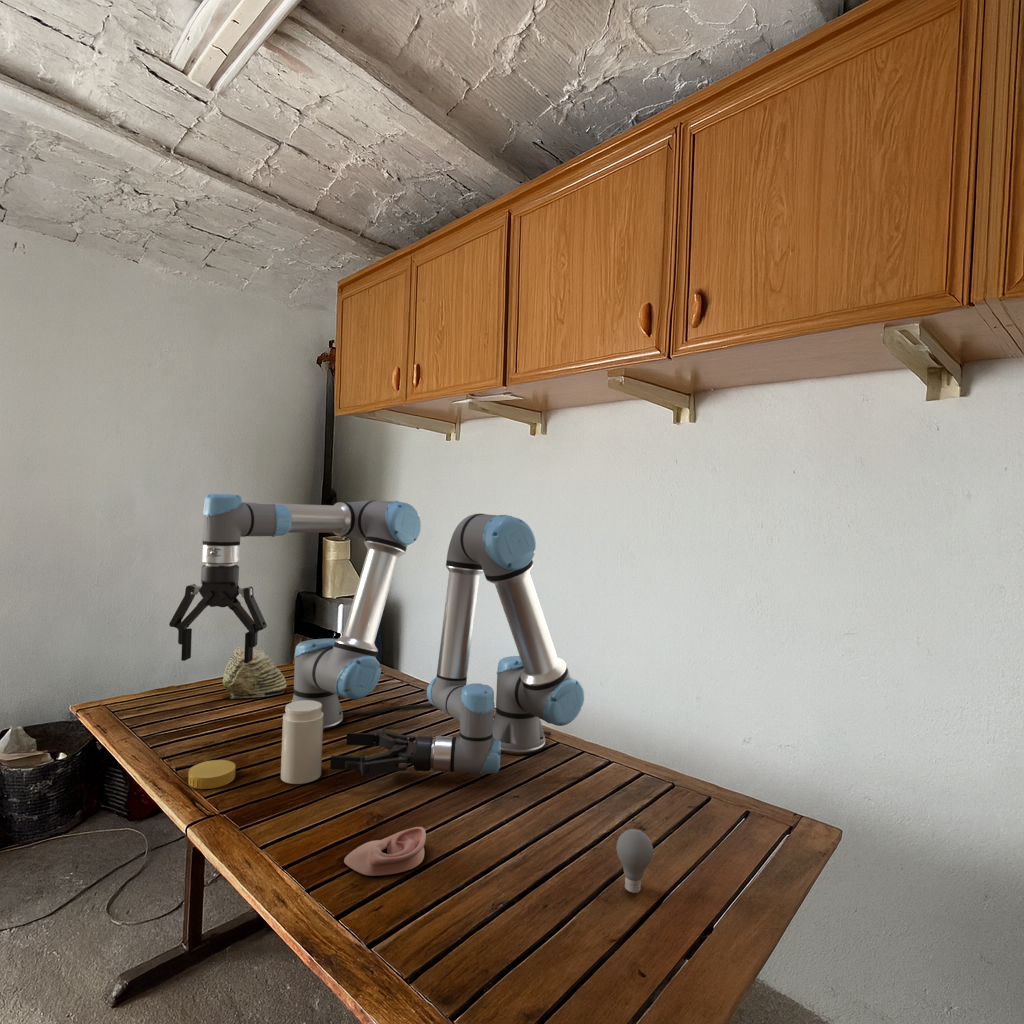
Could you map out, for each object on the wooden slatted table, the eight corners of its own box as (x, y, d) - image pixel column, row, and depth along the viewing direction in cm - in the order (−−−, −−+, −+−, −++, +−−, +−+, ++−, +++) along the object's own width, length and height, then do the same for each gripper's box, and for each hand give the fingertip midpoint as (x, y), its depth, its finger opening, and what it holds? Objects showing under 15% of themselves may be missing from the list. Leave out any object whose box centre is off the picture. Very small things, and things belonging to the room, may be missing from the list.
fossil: (218, 695, 195) (220, 647, 195) (278, 685, 208) (279, 640, 207) (228, 703, 189) (230, 653, 188) (289, 692, 201) (290, 645, 201)
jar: (290, 787, 137) (293, 714, 137) (273, 774, 144) (276, 704, 143) (328, 777, 143) (330, 706, 143) (310, 764, 150) (313, 697, 149)
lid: (231, 767, 146) (232, 756, 146) (238, 783, 138) (239, 772, 138) (185, 775, 141) (186, 764, 141) (190, 792, 133) (190, 781, 133)
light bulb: (610, 879, 108) (613, 822, 108) (644, 879, 109) (647, 822, 109) (619, 902, 102) (622, 840, 102) (655, 901, 103) (658, 840, 103)
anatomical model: (336, 847, 108) (365, 815, 119) (335, 870, 108) (364, 836, 119) (410, 859, 105) (432, 825, 116) (409, 883, 105) (431, 846, 116)
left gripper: (153, 563, 135) (150, 662, 135) (271, 568, 135) (268, 667, 136) (172, 560, 142) (169, 653, 143) (283, 564, 143) (280, 658, 143)
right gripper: (424, 795, 131) (322, 791, 131) (438, 748, 156) (352, 745, 156) (426, 759, 131) (324, 755, 131) (439, 718, 156) (353, 714, 156)
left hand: (217, 660), depth 139 cm, fingers open, 13 cm apart
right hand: (339, 749), depth 144 cm, fingers open, 13 cm apart
